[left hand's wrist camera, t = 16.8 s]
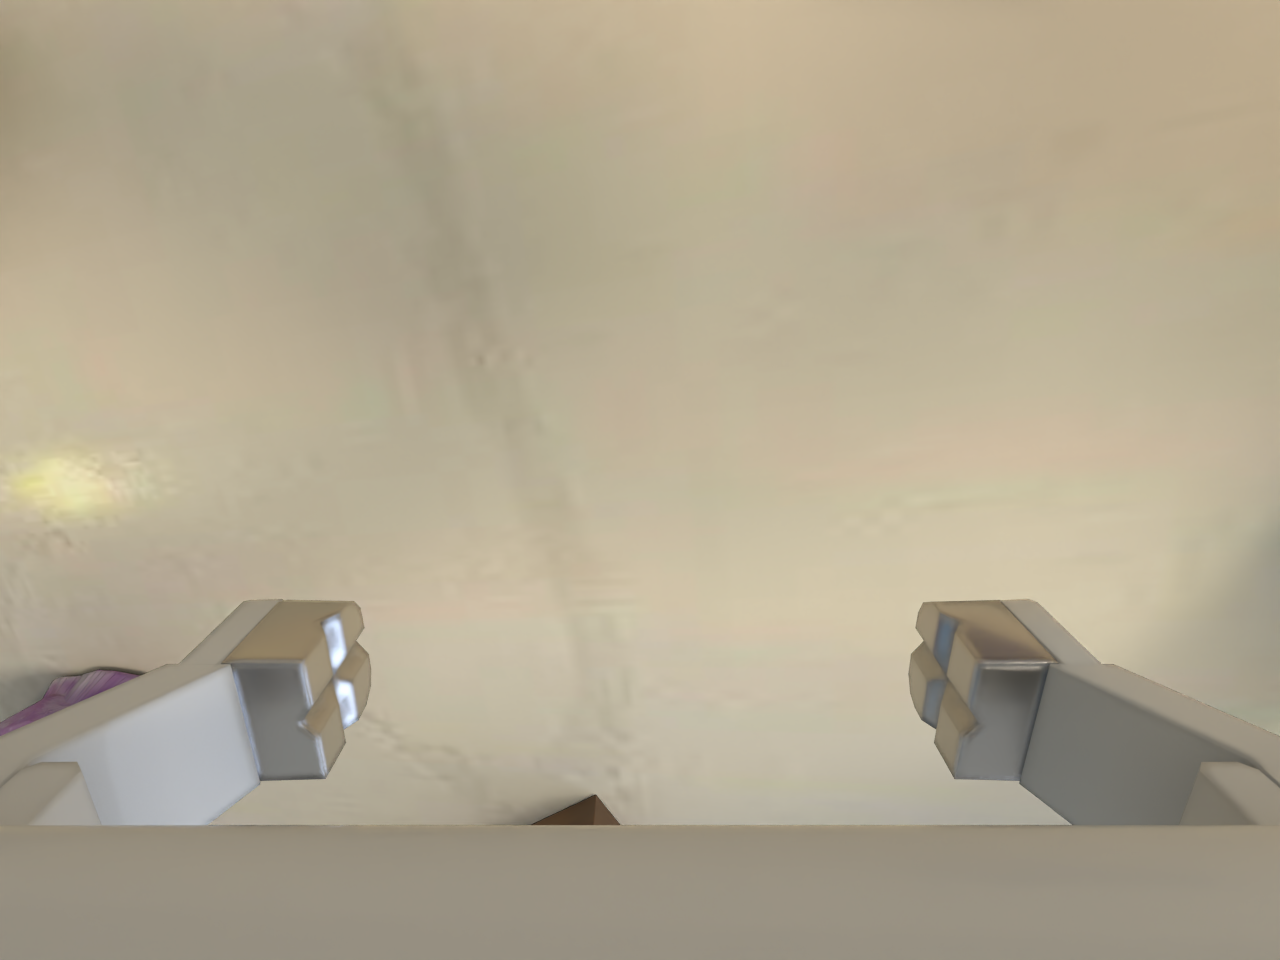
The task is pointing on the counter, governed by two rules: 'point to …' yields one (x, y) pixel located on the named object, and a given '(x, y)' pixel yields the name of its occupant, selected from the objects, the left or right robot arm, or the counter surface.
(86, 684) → the figurine
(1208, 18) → the counter surface
